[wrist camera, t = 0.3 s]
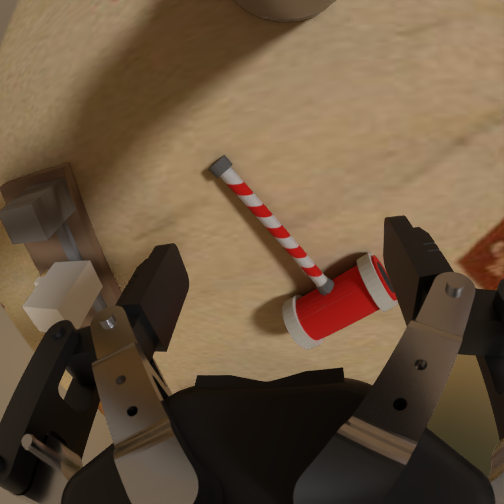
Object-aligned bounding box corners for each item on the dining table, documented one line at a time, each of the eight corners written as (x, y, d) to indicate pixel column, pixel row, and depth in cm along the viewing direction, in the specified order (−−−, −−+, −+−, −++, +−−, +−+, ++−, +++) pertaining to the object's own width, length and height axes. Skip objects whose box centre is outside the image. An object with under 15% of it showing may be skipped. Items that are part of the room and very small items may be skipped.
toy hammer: (176, 195, 31) (155, 228, 26) (264, 117, 26) (261, 135, 21) (311, 319, 40) (313, 359, 35) (390, 275, 35) (404, 314, 30)
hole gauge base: (6, 182, 30) (-31, 211, 24) (69, 162, 29) (27, 194, 23) (79, 325, 45) (61, 360, 39) (139, 329, 44) (124, 370, 38)
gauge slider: (41, 258, 35) (5, 304, 28) (93, 255, 34) (57, 309, 26) (53, 282, 37) (22, 328, 30) (105, 281, 36) (75, 336, 29)
